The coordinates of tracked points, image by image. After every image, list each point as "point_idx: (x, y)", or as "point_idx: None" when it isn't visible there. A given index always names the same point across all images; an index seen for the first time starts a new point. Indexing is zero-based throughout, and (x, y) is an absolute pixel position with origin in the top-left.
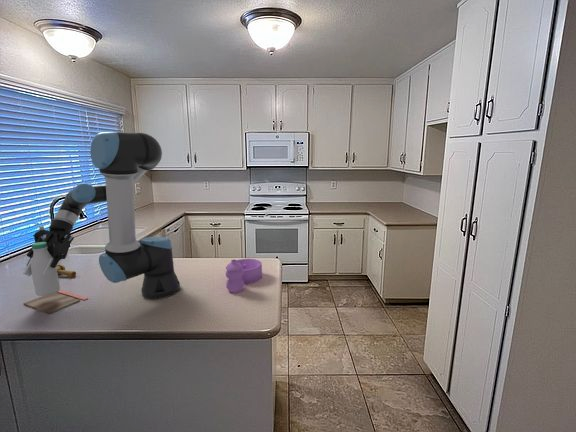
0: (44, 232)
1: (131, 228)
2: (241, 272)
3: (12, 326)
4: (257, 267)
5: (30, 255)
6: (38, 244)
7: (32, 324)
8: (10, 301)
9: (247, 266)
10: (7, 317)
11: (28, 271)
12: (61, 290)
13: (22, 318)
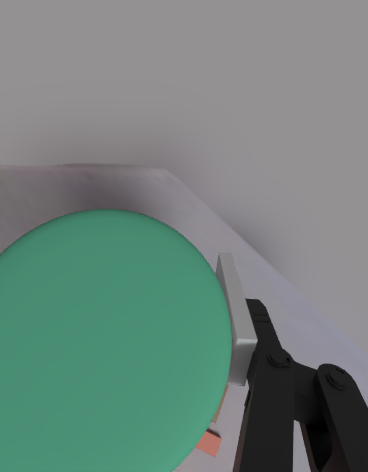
0: None
1: None
2: None
3: (164, 186)
4: None
5: (312, 385)
6: (41, 245)
7: (115, 194)
8: (327, 340)
9: None
10: (224, 230)
11: (219, 278)
12: (197, 447)
13: (172, 224)
